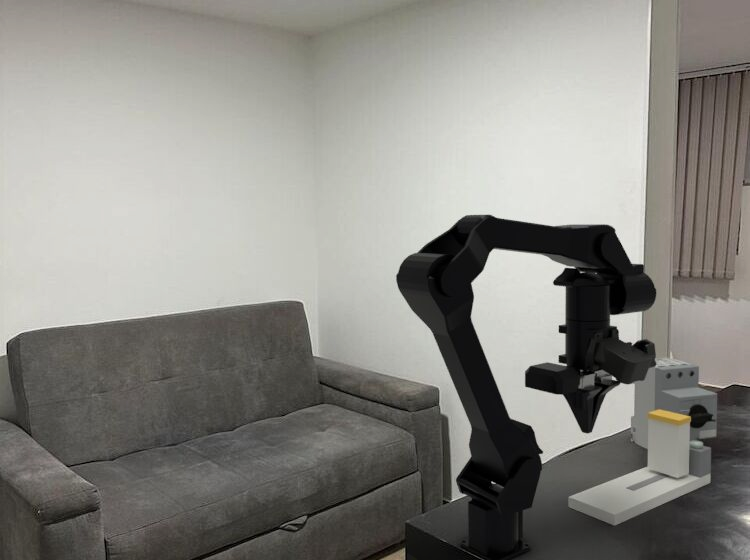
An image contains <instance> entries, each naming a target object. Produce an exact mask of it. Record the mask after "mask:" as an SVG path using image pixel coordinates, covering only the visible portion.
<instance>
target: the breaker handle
mask: <svg viewBox="0 0 750 560" xmlns="http://www.w3.org/2000/svg"><path fill="white" fill-rule="evenodd" d="M647 418H648V449H647V466H648V469H651V470H654V471H657V472H660V473H663V474H666V475H670V476H673V477H676V478H679V477H681V476H684V475H686V474H689V443H690V422H691V417H690V416H686V415H682V414H678V413H673V412H669V411H665V410H660V409H659V410H655V411H652V412H649V413H647Z"/></svg>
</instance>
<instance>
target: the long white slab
mask: <svg viewBox="0 0 750 560" xmlns="http://www.w3.org/2000/svg"><path fill="white" fill-rule="evenodd" d="M711 466H712V447H711V446H705V445H704V442H703V441H700V440H697V441H696V440H692V441H690V443H689V474H686V475H684V476H681V477H679V478H676V477H673V476H670V475H666V474H663V473H660V472H657V471H654V470H651V469H648V465H647V466H645V467H643V468H640V469H637V470H635V471H632V472H629V473H627V474H625V475H622V476H619V477H616V478H614V479H611V480H609V481H606V482H603V483H601V484H599V485H596V486H593V487H590V488H587V489H585V490H582V491H580V492H578V493H575V494H572V495H570V496H568V502H567V503H568V508H570V509H573V510H575V511H578V512H580V513H582V514H585V515H587V516H590V517H592V518H595V519H597V520H599V521H603V522H605V523H607V524H609V525H612V526H617V525H619V524H622V523H623V522H626V521H628V520H630V519H633V518H635V517H637V516H639V515H641V514H644V513H646V512H648V511H650V510H653V509H656V508H657V507H659V506H662V505H663V504H666V503H668V502H671V501H673V500H675V499H677V498H680V497H681V496H684V495H686V494H688V493H690V492H693V491H696V490H698V489H699V488H702V487H704V486H706V485H709V484H711V478H712V477H711V473H712V472H711V471H712V470H711V469H712V467H711Z"/></svg>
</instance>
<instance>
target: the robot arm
mask: <svg viewBox="0 0 750 560" xmlns="http://www.w3.org/2000/svg"><path fill="white" fill-rule="evenodd" d="M493 250H499V251H507V252H508V251H509V252H516V253H525V254H535V255H541V256H545V257H547V258H549V259H550V260H551V261H553V262H555V263H558V264H561V265H565V266H567V267H564V269H563V271H562V272H561V273H560V274H559V275H558V276H556V277H555V278H554V280H553V281H552V285H553V286H558V287H564V288H565V304H564V305H565V310H564V311H565V313H564V314H565V315H564V316H565V323H564V324H558V334H563V335H565V337H564V338H565V341H564V343H565V345H564V346H565V347H564V348H565V350H564V351H565V353H564V354H560V355H558V363H559V364H557V363H552V362H548V361H547V362H543V363H539V364H534V365H530V366H529V367H528V368H527V369H526V370H525V371H524V386H525V388H529V389H533V390H537V391H540V392H544V393H549V394H553V395H561V396H563V398H564V399H565V401H566V402H567V404H568V405H569V409H570V410H571V412H572V414H573V416H574V418H575V420H576V422H577V425H578V427H579V429H580V431H581V432H582V433H583V434H591V433H592V432H593V430H594V427H595V424H596V421H597V419H598V416H599V414H600V413H599V412H600V410H601V408H602V405H603V402H604V399H605V398H606V396H607V394H608V393H610V392H611V391H613V389H615V388H616V387H618V386H620V384H624V385H631V384H632V385H633V382H635V381H639V380H640V381H644V380H645V377H646V375H647V372H648V369H649V368H652V367H655V366H656V361H655V358H657V357H656V355H657V354H656V346H655V345H656V344H655V343H654V342H652V341H650V340H649V339H647V338H644V339H639V340H637V341H636V342H634V343H633V342H631V341H628V342H625V341H623V340H622V339H620V337H619V336H620V335H619V333H620V331H619V329H618V326H616V325H611V316H619V315H624V314H626V315H627V314H634V313H640V312H646V311H648V310H649V309H650V308H652V307H653V305H654V304H655V301H656V299H657V289H656V287H655V283H654V282H653V279H652V278H651V277H650V276H649V275H648V274H646V273H645V265H644V264H642V263H632V262H631V260H630V258H629V256H628V254H627V252H626V250H625V248H624V246H623V244H622V242H621V240H620V239H619V237H618V236H617V233H616V228H615V227H614V226H613V225H609V224H605V223H604V224H561V225H555V226H553V225H548V224H547V225H546V224H542V223H536V222H527V221H520V220H516V219H515V220H514V219H508V218H507V219H505V218H500V217H496V216H494V215H493V214H467V215H465V216H462V217H460V219H458V220H457V221H456V222H455V223H454V224H453V225H452V226H451V227H450V228H449V229H448V230H446V231H445V232H443V233H441V234H440V235H438V236H436V237H435V238H433V239H432V240H430V241H429V242H427V243H426V244H425V245H424V246H423V247H421V249H419V250H418V251H417V252H414V253H412V254H409V255H407V257H406V258H404V260H402V262H401V263H400V266H399V268H398V272H397V273H396V275H395V277H396V283H397V284H396V285H397V288H398V291H399V292H400V294H401V295H402V297H403V299H404V300H405V303H407V305H408V306H409V308H410V309H411V311H412V312H413V313H414V314H415V315H416V316H417V317H418V318H419V319H420V320H421V321H422V322H423V324H425V325H426V327H427V328H429V330H430V331H431V334H432V335H433V337H434V340H435V342H436V345H437V348H438V350H439V352H440V354H441V357H442V359H443V362H444V364H445V367H446V369H447V371H448V374H449V376H450V379H451V380H452V383H453V386H454V388H455V390H456V393H457V395H458V398H459V401H460V403H461V405H462V407H463V410H464V412H465V415H466V417H467V419H468V422H469V424H470V428H471V430H470V432H471V433H470V435H469V436H470V437H469V443H468V447H469V452H470V458H469V459H468V460H467V462H466V463H465V465H464V467H463V468H462V469H461V471H460V472H459V474H458V475H457V477H455V481H456V482H455V483H456V485H457V489H458V492H459V493H460V494H462V495H465V496H467V497H469V498H471V500H468V502H467V520H468V521H467V524H468V525H467V529H468V530H467V531H468V532H467V533H468V534H467V536H468V537H466V538H464V539H461V540H460V541H459V546H461V547H462V548H464V549H465V550H468V551H469V552H471V553H473V554H475V555H477V556H479V558H482V559H484V560H509V559H512V558H514V557H516V556H519V555H521V554H523V553H525V552H528V551H530V550H531V548H532V545H531V544H530V543H529V542H526V541H524V540H523V538H524V537H523V536H524V533H523V532H524V531H523V530H524V528H523V527H524V525H523V524H524V522H523V520H524V518H523V517H524V513H523V512H524V511H525V510H528V509H531V508H532V507H533V504H534V501H535V496H536V491H537V487H538V484H539V480H540V477H541V472H542V469H543V461H542V457H541V455H543V454H544V450H542V449H541V447H540V446H539V444H538V442H537V437H536V433H535V430H534V428H533V427H532V426H531V425H529V424H526V423H525V422H521V421H519V420H515V419H514V418H511V417H510V414H509V412H508V410H507V407H506V404H505V402H504V400H503V396H502V395H501V391H500V389H499V386H498V385H497V382H496V380H495V377H494V374H493V372H492V370H491V369H492V368H491V366H490V364H489V361H488V359H487V356H486V353H485V350H484V349H483V347H482V344H481V342H480V338H479V336H478V333H477V331H476V329H475V326H474V324H473V321H472V313H473V312H472V311H473V305H474V301H475V300H474V299H475V294H474V289H473V285H472V283H473V282H474V281H475V280H476V279H477V278H478V276H479V275H481V273H482V272H483V271H484V270H485V267H486V263H487V261H488V259H489V256H490V253H492V251H493ZM564 364H565V365H564ZM613 378H615V380H614V379H613ZM492 482H493V483H492Z"/></svg>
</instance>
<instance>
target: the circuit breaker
mask: <svg viewBox="0 0 750 560" xmlns="http://www.w3.org/2000/svg"><path fill="white" fill-rule="evenodd" d="M655 361H656V366H655V367H652V368H649V369H648V372H647V375H646V377H645V380H644V381H640V380H639V381H635V382H633V383H632V385H634V394H633V395H634V396H633V397H634V398H633V399H634V400H633V401H634V403H633V404H634V405H633V407H634V408H633V415H631V416H630V433H631V434H632V438H630V442H633V443H635V444H636V445H638V446H640V447H642V448H644V449H646V450H648V418H647V413H649V412H652V411H655V410H659V409H660V410H665V411H669V412H673V413H678V414H682V415H686V416H690V417H691V422H690V441H692V440H696V441H698V440H704V439H712V438H713V439H714V438H717V425H718V424H717V423H718V421H717V419H718V393H716V392H713V391H710V390H707V389H706V388H705V389H704V388H702V387H699V383H700V382H699V380H700V379H699V378H700V376H699V375H700V372H699V371H700V366H699V365H697V364H693V363H690V362H685V361H682V360H678V359H675V358H670V357H658V358H657V357H656V358H655ZM634 429H635V430H634Z"/></svg>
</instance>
